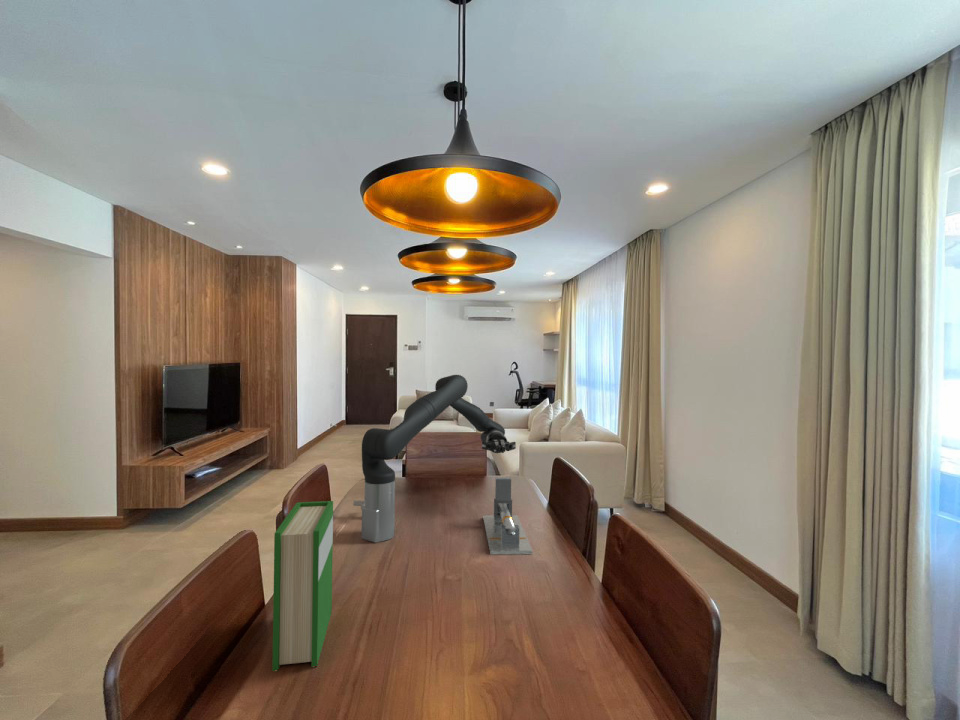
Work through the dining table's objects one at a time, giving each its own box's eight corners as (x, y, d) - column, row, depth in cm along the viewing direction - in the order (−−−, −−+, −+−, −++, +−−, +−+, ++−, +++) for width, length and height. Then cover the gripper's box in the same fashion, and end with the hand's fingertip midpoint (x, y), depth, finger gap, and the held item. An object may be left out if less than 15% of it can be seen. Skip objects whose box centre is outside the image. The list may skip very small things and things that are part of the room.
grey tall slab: (493, 516, 151) (494, 477, 151) (511, 515, 151) (511, 477, 151) (494, 518, 149) (494, 479, 149) (512, 517, 149) (512, 479, 149)
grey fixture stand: (483, 518, 158) (483, 496, 158) (517, 517, 158) (517, 495, 158) (490, 554, 128) (490, 527, 128) (532, 554, 128) (532, 526, 128)
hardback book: (317, 667, 80) (318, 530, 80) (272, 671, 78) (274, 533, 79) (331, 612, 97) (333, 500, 97) (295, 615, 96) (297, 502, 96)
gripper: (479, 431, 174) (482, 439, 157) (513, 431, 175) (520, 439, 157) (479, 451, 174) (482, 460, 157) (513, 451, 175) (520, 460, 157)
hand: (501, 450), depth 157 cm, fingers closed
